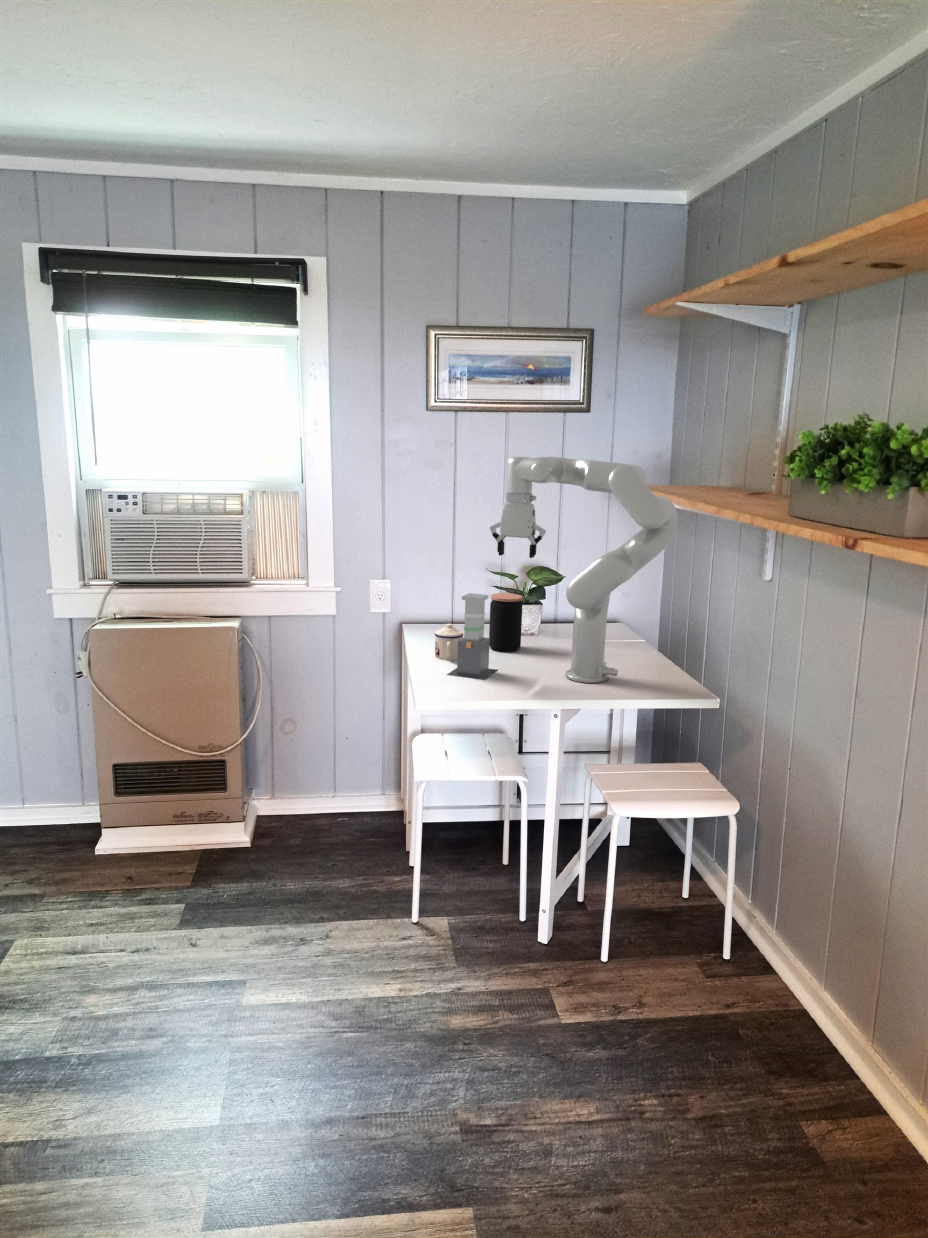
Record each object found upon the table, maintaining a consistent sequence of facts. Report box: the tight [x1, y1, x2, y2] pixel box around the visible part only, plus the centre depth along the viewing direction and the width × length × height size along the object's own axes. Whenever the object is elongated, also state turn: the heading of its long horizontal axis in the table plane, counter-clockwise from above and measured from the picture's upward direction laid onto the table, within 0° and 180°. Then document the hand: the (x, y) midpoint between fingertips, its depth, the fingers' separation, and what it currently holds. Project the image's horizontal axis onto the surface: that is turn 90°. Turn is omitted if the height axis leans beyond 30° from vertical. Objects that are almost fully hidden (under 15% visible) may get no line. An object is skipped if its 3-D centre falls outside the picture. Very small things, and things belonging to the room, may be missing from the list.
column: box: [461, 592, 489, 642], centre depth 245 cm, size 6×6×17 cm
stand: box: [446, 636, 499, 681], centre depth 247 cm, size 12×12×11 cm
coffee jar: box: [488, 592, 524, 653], centre depth 280 cm, size 11×11×18 cm
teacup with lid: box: [434, 623, 464, 661], centre depth 262 cm, size 12×9×12 cm
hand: (516, 556), depth 253 cm, fingers open, 9 cm apart
